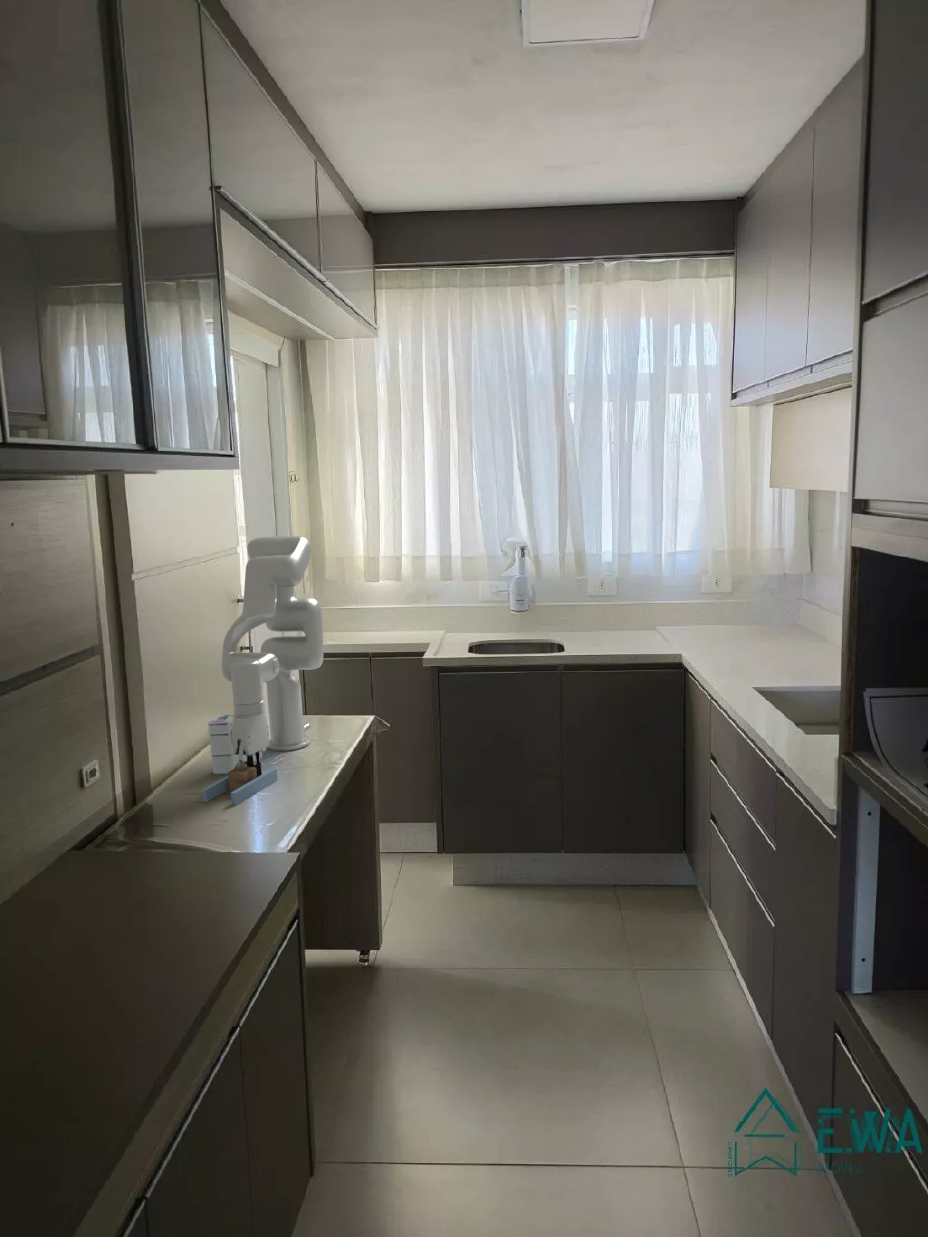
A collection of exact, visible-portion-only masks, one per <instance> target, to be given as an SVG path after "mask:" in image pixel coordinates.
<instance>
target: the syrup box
mask: <svg viewBox="0 0 928 1237" xmlns="http://www.w3.org/2000/svg"><path fill="white" fill-rule="evenodd" d="M234 716H235V715H234V714H220V715H214V716H213V718H211V719H210V720H208V721H207V726H208V727H207V728H208V737H209V746H210V755H211V763H212V772H213V773H212V774H214V775H228V772H229V771H231V770H233V769H235V768H236V767H238V766H241V761H239V754H237V755H235V754H233V748H232V724H233V717H234Z"/></svg>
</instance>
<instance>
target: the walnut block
mask: <svg viewBox="0 0 928 1237" xmlns="http://www.w3.org/2000/svg"><path fill="white" fill-rule="evenodd" d="M246 766H247V765H240V766H238V767H236V768H235V769H233V770H231V771H229V772H228V774H227V776H228V782H229V790H228V792H229V793H231V792H233V791H235V790H236V789H238V788H240V787H242V786H243V785H245V784H247V783H248V782H250V781H252V780H254V779H255V778H257V769H256V767H246Z"/></svg>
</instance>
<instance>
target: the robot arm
mask: <svg viewBox="0 0 928 1237" xmlns="http://www.w3.org/2000/svg"><path fill="white" fill-rule="evenodd" d="M246 549H247V555H248V557H249V560H248V561H247V562H246V566H245V573H244V574H245V576H244V590H243V603H242V613H241V614H240V616H239V617H238V618H237V619H236V620H235V621H234V622H233V623H232V624H231V626H230V627H229V629H228V631H227V632H226V634H225V636H224V640H223V643H222V650H221V651H222V655H221V671H222V676H223V678H225V680H226V681H228V682H231V688H232V689H231V690H232V691H231V692H232V700H233V702H232V704H233V715H235V716H234V717H233V724H232V748H233V754H235V755H237V754H239V761H240V762H243V763H244V764H245V765H246V766H247V767H256V769H257V777H259V776H260V775H262V774H263V772H262V762H263V754H264V752H266V750H267V749H269V750H270V749H271V750H272V751H279V752H284V751H285V752H286V751H293V750H298V749H302V748H304V747H307V746H308V745H309V744H310V742H311V739H310V737H309V736H307V735H306V734H305V733H306V731H307V732H308V730H310V729H311V724H310V723H305V724H304V719H303V718H304V716H303V704H302V700H303V699H302V687H301V683H300V680H299V678H298V676H297V675H296V674H295V673H294V672H293V671H301V670H302V671H303V670H304V671H305V670H306V671H307V670H308V671H309V670H317V669H319V668H321V666H322V664H323V662H324V631H323V630H324V629H323V613H322V608H321V605H320V603H319V601H318V600H317V599H315V598H313V597H296V594H295V587H297V586H298V585H299V584H301V581H302V580H303V577H304V575H305V573H306V570H307V568H308V566H309V564H310V561H311V556H312V547H311V544H310V542H309V540H308V539H307V538H306V537H304V536H300V535H299V536H295V535H293V536H263V537H256V538H253V539H251V540H250V541H249V542H248V544H247V548H246ZM263 624H265V626H266V627H267V629H268V630H270V631H272V632H278V633H279V632H280V633H281V632H283V633H284V632H285V633H287V632H303V634H304V635H300V636H299V635H297V636H296V635H295V636H293V635H291V636H289V635H288V636H273V637H269V638H267V639H265V640H264V641H263V642H262V644H261V646H260V652H254V651H253V652H237V650H238V647H239V646H238V645H239V644H240V641H241V640H242V639H243V637H244V636H245V635H246V634H247V633H249V632H250V631H252V630H253V629H255V628H256V627H259V626H260V625H263ZM264 683H266V684H265V685H266V698H267V708H268V719H267V715H266V710H265V709H266V707H265V696H264ZM268 722H269V724H268Z"/></svg>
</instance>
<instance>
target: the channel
mask: <svg viewBox="0 0 928 1237" xmlns="http://www.w3.org/2000/svg"><path fill="white" fill-rule="evenodd" d="M245 766H246V767H247V765H245ZM276 780H277V781H278V769H277V768H271V769H269V770H267V771H266V772H263V773H262V775H260V776H259V777H257V778H255V779H254V780H252V781H250V782H248V783H247V784H245V785H243V786H242V787H240V788H238V789H236V790H235V791H233V792H230V800H231V801H230V802H231V806H237V805H239V804H241V803H242V802H244V801H245V800H244V799H246V798H247V799H249V798H250V797H249V796H251V797H252V796H253V795H255V794H257V793H259V792H260V791H262V790H263V789H262V788H264V787H265V788H267V787H269V786H270V785H272V784H274V783H275V782H277V781H276ZM274 781H275V782H274ZM273 782H274V783H273ZM271 783H272V784H271ZM268 785H269V786H268ZM265 788H264V789H265ZM261 789H262V790H261ZM259 790H260V791H259ZM227 791H229V782H228V775H226V776H224V777H222V778H221V779H219V780H217V781H215V782H213V783H212V784H210V785H208V786H206V787H204V788H202V789H201V794H202V802H203V803H208V802H209V801H211V800H213V799H215V798H216V797H217V798H218V796H221V795H222V794H224V793H225V792H227ZM258 791H259V792H258ZM248 797H249V798H248ZM247 799H246V800H247ZM243 800H244V801H243ZM240 802H241V803H240Z"/></svg>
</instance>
